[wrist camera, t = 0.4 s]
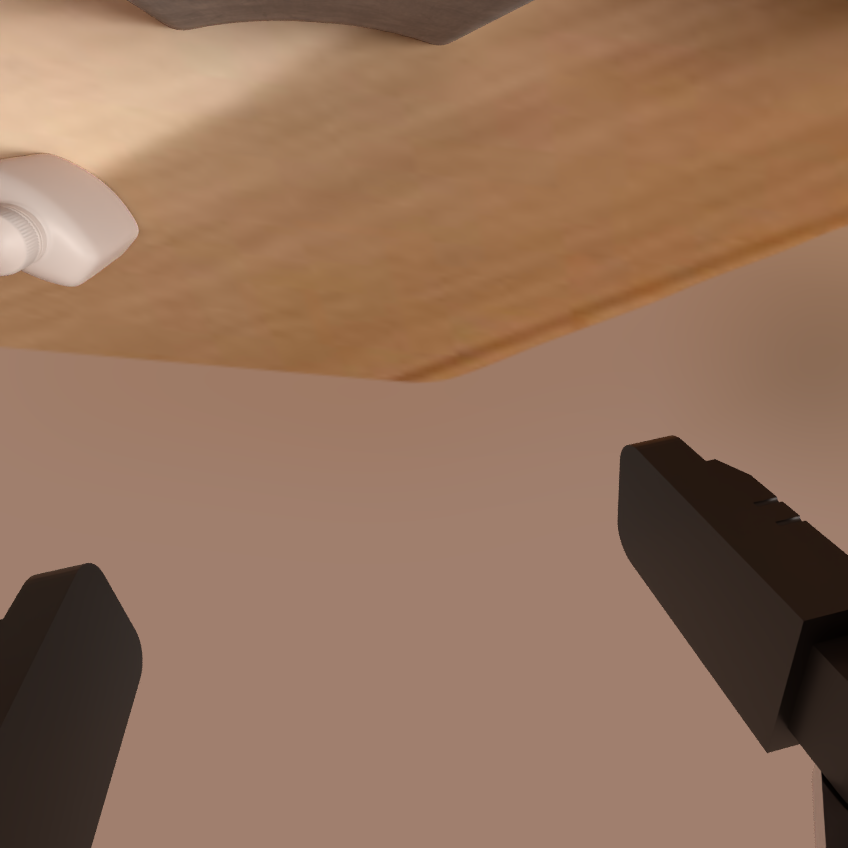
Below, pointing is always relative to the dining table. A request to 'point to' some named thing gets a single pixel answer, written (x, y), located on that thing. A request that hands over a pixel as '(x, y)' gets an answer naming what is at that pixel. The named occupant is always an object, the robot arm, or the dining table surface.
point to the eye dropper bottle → (59, 220)
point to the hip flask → (341, 14)
